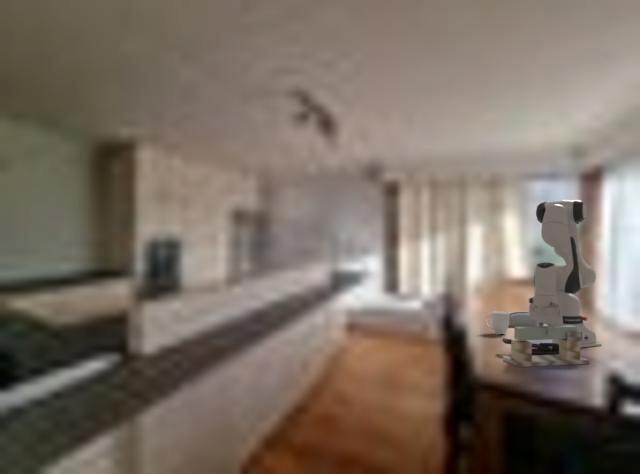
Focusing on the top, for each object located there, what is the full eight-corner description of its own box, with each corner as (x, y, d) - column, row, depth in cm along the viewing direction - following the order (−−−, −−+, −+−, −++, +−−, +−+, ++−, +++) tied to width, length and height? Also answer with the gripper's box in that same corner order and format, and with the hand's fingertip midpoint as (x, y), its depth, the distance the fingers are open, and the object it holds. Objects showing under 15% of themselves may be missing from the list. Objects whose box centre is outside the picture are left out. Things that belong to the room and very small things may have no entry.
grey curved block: (537, 325, 332) (537, 310, 328) (538, 329, 327) (538, 314, 324) (506, 324, 336) (507, 309, 332) (507, 328, 331) (508, 313, 328)
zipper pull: (501, 337, 262) (558, 339, 258) (501, 352, 262) (558, 353, 258) (504, 341, 253) (563, 342, 249) (504, 356, 253) (563, 358, 249)
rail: (571, 336, 245) (571, 325, 245) (576, 338, 241) (576, 326, 241) (514, 338, 241) (514, 326, 241) (519, 340, 237) (519, 328, 237)
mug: (509, 333, 308) (509, 311, 308) (508, 336, 300) (508, 313, 300) (487, 331, 313) (487, 310, 312) (485, 335, 304) (485, 312, 304)
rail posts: (572, 357, 250) (572, 327, 250) (589, 363, 238) (589, 332, 238) (503, 360, 245) (503, 330, 245) (517, 366, 233) (517, 335, 233)
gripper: (566, 304, 231) (566, 338, 231) (539, 298, 251) (539, 329, 252) (552, 304, 230) (552, 338, 230) (526, 298, 250) (526, 330, 251)
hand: (545, 333), depth 241 cm, fingers closed on rail, 4 cm apart
